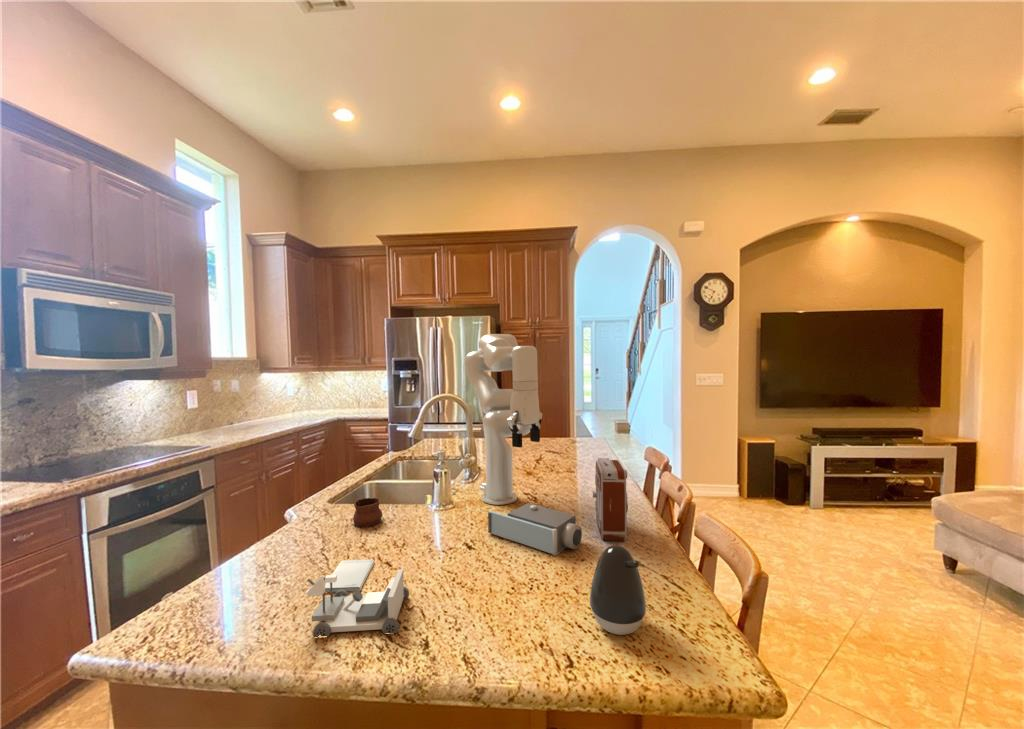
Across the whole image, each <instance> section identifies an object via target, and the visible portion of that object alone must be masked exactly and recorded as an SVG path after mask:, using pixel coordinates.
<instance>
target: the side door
mask: <svg viewBox="0 0 1024 729" xmlns="http://www.w3.org/2000/svg"><path fill="white" fill-rule="evenodd" d="M487 522H488V524H487V529H488V534H492V535H495V536H498V537H501V538H504V539H507V540H509V541H513V542H516V543H519V544H522V545H525V546H528V547H531V548H535V549H537V550H540V551H542V552H545V553H548V554H550V555H551V554H552V556H555V557H556V556H558V554H557V529H552V528H548V527H545V526H541V525H538V524H534V523H531V522H528V521H524V520H521V519H517V518H514V517H511V516H508V514H503V513H499V512H496V511H493V510H489V511H488V512H487Z"/></svg>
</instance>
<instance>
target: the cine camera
mask: <svg viewBox="0 0 1024 729" xmlns="http://www.w3.org/2000/svg"><path fill="white" fill-rule="evenodd" d="M594 478H595V479H594V483H595V484H594V485H595V491H594V490H593V491H592V498H595V516H596V518H595V520H596V521H595V522H596V525H597V528H598V529H597V530H598V534H599V536H600V539H601V540H602V541H618V542H619V541H620V542H621V541H622V542H623V541H626V540H627V532H628V531H627V529H628V528H627V523H628V522H627V518H628V517H627V513H628V511H629V504H628V491H627V479H628V470H627V469H625V468H624V466H623V465H622V463H621V462H620V461H619V460H618V459H610V458H609V457H597V459H596V461H595V476H594Z"/></svg>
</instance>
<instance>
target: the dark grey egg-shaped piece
mask: <svg viewBox="0 0 1024 729" xmlns="http://www.w3.org/2000/svg"><path fill="white" fill-rule="evenodd" d="M639 566H640V563H639V561H637V560H635V559H634V557H633V555H632V553H631V551H629V549H628V548H626V546H624V545H621V544H617V543H616V544H610V545H608V546H607V547H606V548H605V549H604V550H603V551H602V553H601V554H600V556H599V559H598V561H597V564H596V567H595V569H594V573H593V575H592V576H593V577H592V582H591V587H590V594H589V606H590V609H591V610H592V613H593V616H594V618H595V620H596V622H597V623H598V625H599V626H600V627H601V628H602V629H604V631H606V632H609V633H610V634H613V635H618V636H621V635H622V636H624V635H629V634H632V633H634V632H636V631H637V630H638V629H639V627H640V626H641V625H642V622H643V619H644V617H645V616H646V612H647V609H646V608H647V607H646V606H647V605H646V597H645V590H644V585H643V582H642V578H641V574H640V572H639Z"/></svg>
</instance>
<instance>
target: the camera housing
mask: <svg viewBox="0 0 1024 729" xmlns="http://www.w3.org/2000/svg"><path fill="white" fill-rule="evenodd" d="M507 516H511V517H514V518H517V519H521V520H524V521H528V522H531V523H534V524H538V525H541V526H545V527H548V528H552V529H557V555H558V554H559V553H561V552H562V551H564V550H565V549H567V548H569V549H572V550H577V549H578V547H579V546H580V544H581V541H582V536H583V530H582V527H581V526H580V525H579V524H577V523H576V521H577V520H576V519H577V518H576V516H577V515H575V514H571V513H569V512H565V511H560V510H556V509H552V508H549V507H544V506H542V505H538V504H533V503H530V502H527V503H526V504H524V505H522V506H520V507H518V508H516V509H513V510H512V511H510V512H507Z"/></svg>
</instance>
